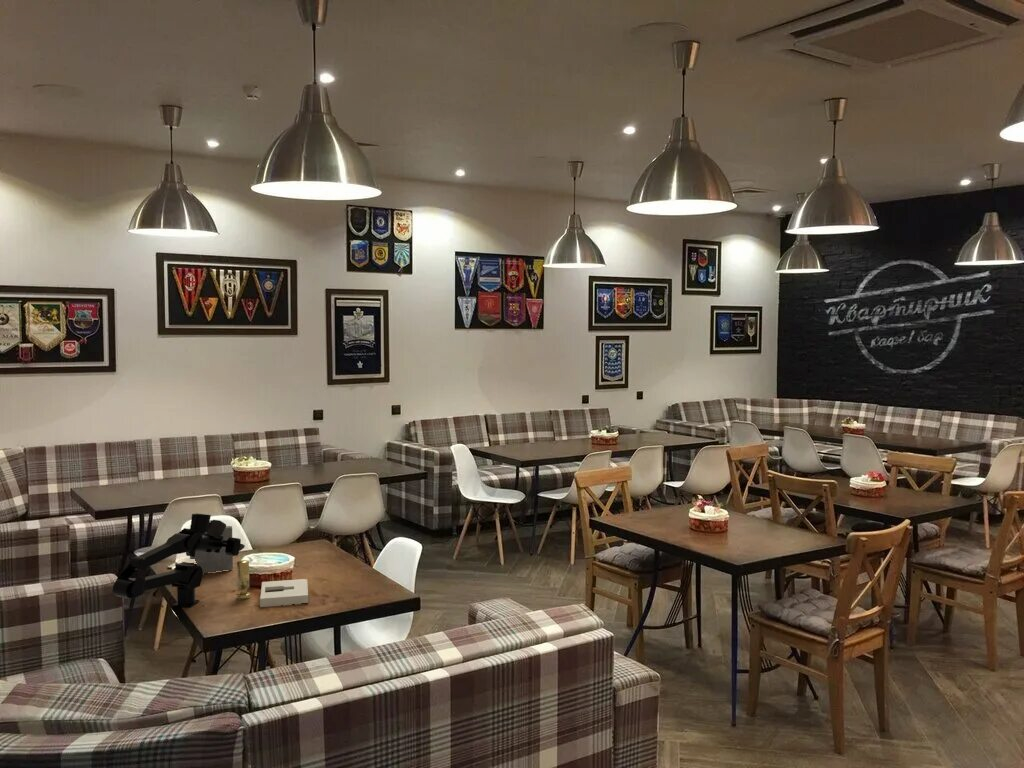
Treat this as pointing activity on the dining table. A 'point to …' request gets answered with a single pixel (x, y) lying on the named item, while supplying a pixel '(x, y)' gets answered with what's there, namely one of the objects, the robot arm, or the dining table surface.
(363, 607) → the dining table surface
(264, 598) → the keyhole plate
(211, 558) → the hip flask
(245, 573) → the brass peg
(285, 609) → the dining table surface
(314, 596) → the dining table surface
